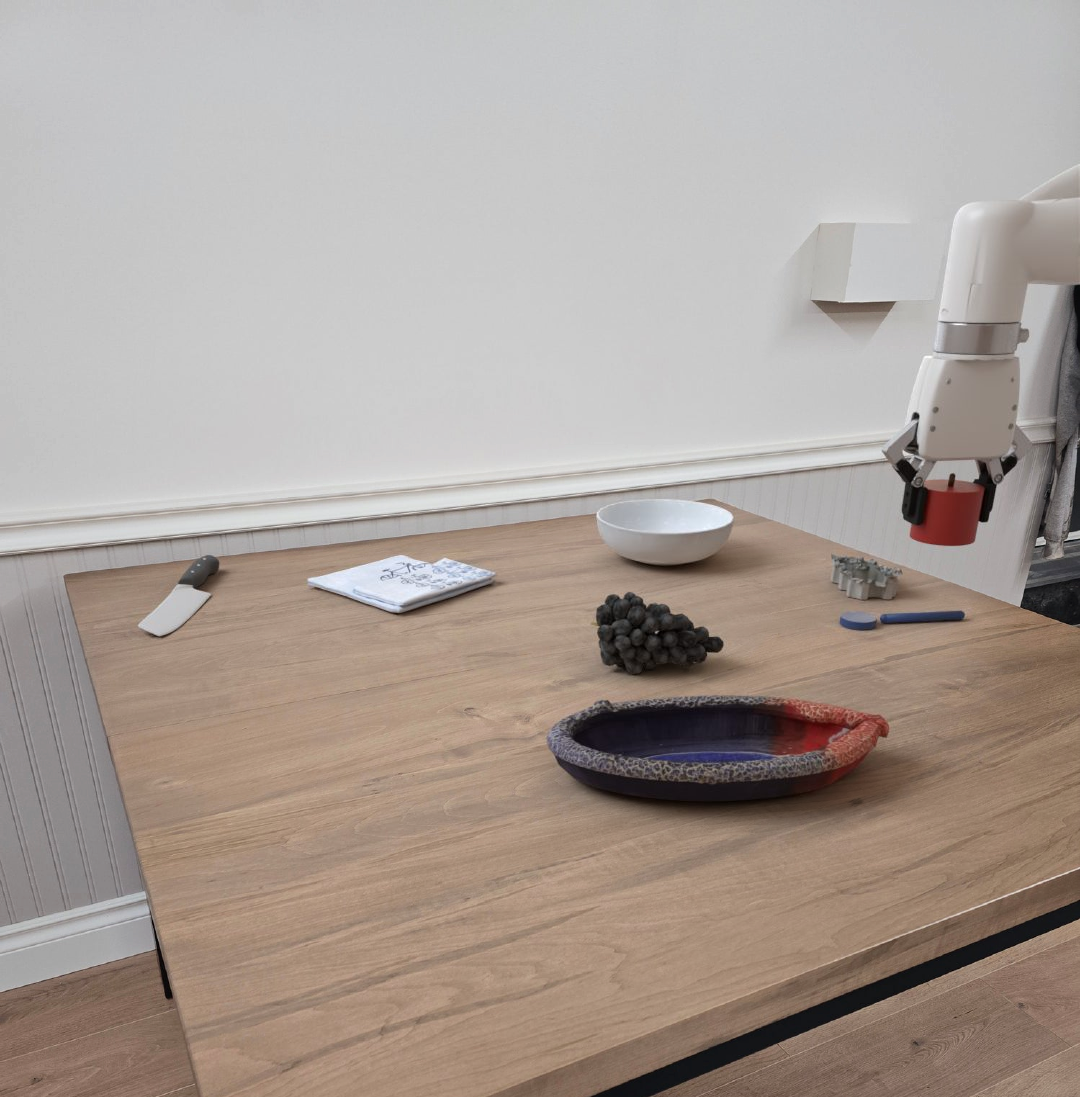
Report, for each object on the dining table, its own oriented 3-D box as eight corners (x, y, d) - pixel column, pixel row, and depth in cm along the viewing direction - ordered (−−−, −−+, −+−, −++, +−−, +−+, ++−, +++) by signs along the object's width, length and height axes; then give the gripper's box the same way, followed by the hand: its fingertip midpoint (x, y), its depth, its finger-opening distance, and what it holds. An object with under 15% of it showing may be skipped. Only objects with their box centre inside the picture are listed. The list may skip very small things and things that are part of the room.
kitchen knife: (175, 630, 119) (133, 620, 118) (172, 649, 120) (131, 639, 119) (235, 559, 145) (201, 550, 144) (233, 575, 146) (199, 566, 145)
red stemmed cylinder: (955, 529, 107) (966, 466, 104) (987, 544, 101) (999, 478, 98) (898, 531, 107) (908, 468, 104) (927, 547, 101) (938, 480, 98)
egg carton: (901, 601, 131) (906, 571, 129) (845, 601, 131) (849, 571, 129) (877, 577, 140) (881, 549, 138) (825, 577, 140) (829, 549, 138)
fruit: (727, 583, 108) (592, 579, 108) (734, 630, 102) (591, 625, 102) (717, 643, 114) (589, 639, 114) (723, 691, 108) (588, 686, 108)
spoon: (954, 613, 125) (956, 605, 125) (972, 625, 122) (974, 616, 121) (834, 619, 124) (835, 610, 123) (847, 630, 120) (849, 621, 119)
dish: (542, 737, 93) (542, 689, 91) (856, 730, 94) (863, 683, 92) (550, 820, 79) (550, 766, 77) (918, 811, 80) (929, 758, 78)
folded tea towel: (400, 617, 125) (398, 601, 125) (304, 587, 137) (303, 572, 137) (499, 583, 139) (499, 569, 138) (404, 558, 150) (403, 545, 150)
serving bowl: (576, 569, 145) (576, 523, 142) (619, 535, 162) (621, 494, 159) (713, 583, 138) (716, 536, 135) (743, 547, 155) (746, 504, 152)
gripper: (1035, 337, 100) (1001, 509, 108) (875, 341, 98) (852, 516, 106) (1080, 342, 93) (1041, 526, 101) (909, 346, 91) (882, 533, 99)
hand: (945, 519), depth 103 cm, fingers closed on red stemmed cylinder, 6 cm apart
